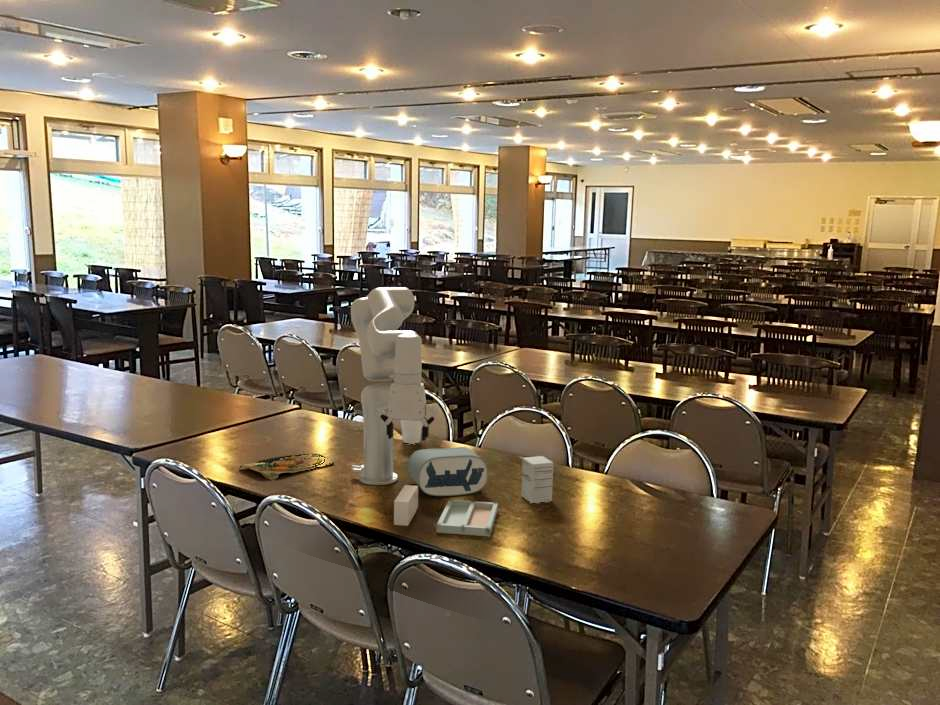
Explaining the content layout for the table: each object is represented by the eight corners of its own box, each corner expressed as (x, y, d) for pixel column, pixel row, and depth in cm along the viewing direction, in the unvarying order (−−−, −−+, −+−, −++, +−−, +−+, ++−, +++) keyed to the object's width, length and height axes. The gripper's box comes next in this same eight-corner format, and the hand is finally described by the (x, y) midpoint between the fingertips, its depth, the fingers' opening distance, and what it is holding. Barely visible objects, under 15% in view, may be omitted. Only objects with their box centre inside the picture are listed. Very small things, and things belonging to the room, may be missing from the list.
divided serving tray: (436, 532, 217) (436, 524, 216) (448, 506, 237) (449, 499, 236) (489, 536, 215) (490, 528, 214) (497, 510, 235) (498, 502, 234)
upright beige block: (393, 525, 222) (394, 501, 220) (404, 507, 235) (404, 485, 234) (407, 526, 221) (408, 502, 220) (417, 508, 235) (418, 485, 234)
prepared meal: (306, 444, 287) (337, 454, 274) (307, 454, 287) (338, 464, 275) (237, 463, 266) (267, 474, 254) (238, 473, 267) (268, 485, 255)
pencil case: (418, 499, 241) (418, 458, 240) (406, 482, 260) (406, 444, 258) (488, 494, 247) (488, 454, 246) (471, 478, 265) (471, 440, 264)
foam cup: (428, 441, 306) (428, 408, 304) (414, 447, 298) (414, 413, 296) (408, 437, 311) (408, 405, 309) (393, 442, 303) (394, 409, 301)
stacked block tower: (520, 496, 247) (521, 457, 245) (542, 494, 249) (543, 455, 247) (530, 504, 240) (532, 464, 238) (552, 502, 243) (554, 462, 241)
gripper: (374, 379, 219) (374, 440, 222) (436, 382, 217) (435, 443, 219) (381, 375, 226) (380, 433, 229) (440, 377, 224) (440, 436, 227)
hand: (407, 438), depth 224 cm, fingers open, 9 cm apart
